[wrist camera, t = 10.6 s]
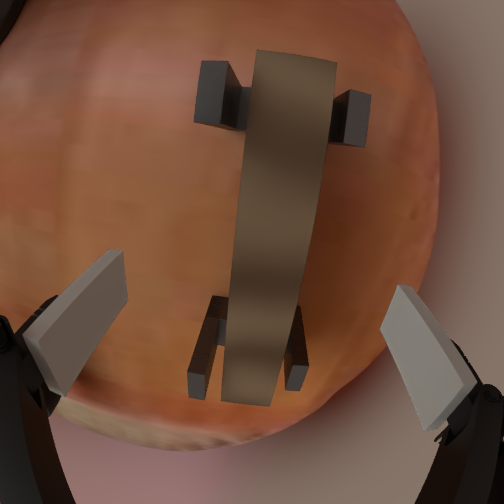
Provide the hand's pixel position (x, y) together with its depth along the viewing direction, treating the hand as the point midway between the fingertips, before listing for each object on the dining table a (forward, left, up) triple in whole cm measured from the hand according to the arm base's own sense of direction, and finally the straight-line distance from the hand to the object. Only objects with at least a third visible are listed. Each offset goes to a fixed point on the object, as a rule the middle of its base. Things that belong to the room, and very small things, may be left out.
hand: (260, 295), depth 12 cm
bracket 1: (-9, 0, -12) cm, 14 cm away
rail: (+1, 0, -8) cm, 8 cm away
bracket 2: (+9, 0, -12) cm, 15 cm away
